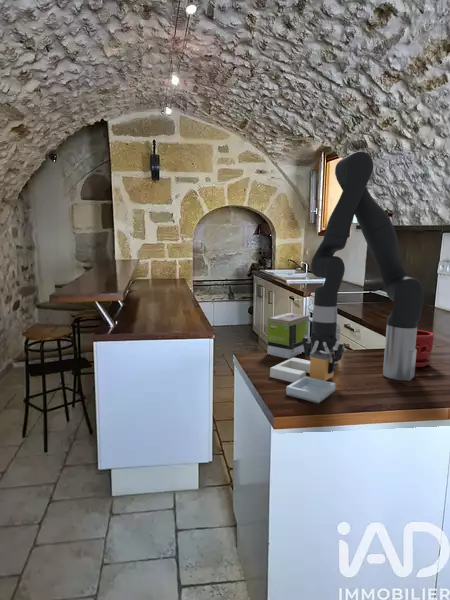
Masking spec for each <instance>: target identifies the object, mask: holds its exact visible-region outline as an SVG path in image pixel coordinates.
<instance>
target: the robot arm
mask: <svg viewBox="0 0 450 600" xmlns="http://www.w3.org/2000/svg"><path fill="white" fill-rule="evenodd" d="M373 171H374V161H373V159H372V157H371V155H370V154H369V153H368V152H366V151H361V150H360V151H355V152H352V153H350V154H348V155H347V156H345V157H343V158H342V159H340V160H339V161H338V162H336V165H335V170H334V175H335V179H336V180H337V182H338V185H339V186H340V188H341V190H342V192H341V194H340V196H339V199H338V201H337V203H336V205H335V207H334V209H333V211H332V212H331V214H330V216H329V219H328V222H327V224H326V228H325V232H324V235H323V240H322V241H321V242H320V244H319V246H318V248H317V250H316V252H315V254H314V255H313V256H312V258H311V259H312V260H311V262H310V270H311V273H312V275H313V276H315V277H316V278H320V279H321V278H322V279H325V280H324V283H323V285H318V286H317V287H315V289H314V300H313V301H314V302H313V309H312V321H311V323H312V325H311V336H308V337H304V338H303V339H302V341H303V346H304V352H303V353H304V355H305V357H309V358H310V359H309V361H311V354H312V353H316V352H318V351H324V352H326V355H328V356H329V363H328V374H331V373H332V372H333V373H335V372H334V371H335V367H336V366H335V365H336V364H335V362H337V363H339V361H341V360H342V357H343V354H344V351H345V347H346V343H345V342H338V341H337V339H336V328H337V322H338V298H339V297H338V293H339V290H340V287H341V285H342V281H343V280H344V279H343V278H344V276H345V270H346V269H345V268H346V267H345V262H344V261H343V259H342V258H341V257H339V256H337V255H335V254H336V253H337V252H338V251H341V250H343V249H345V247H346V245H347V242H348V238H349V235H350V231H351V230H350V229H351V227H352V223H353V220H354V217H355V218H356V219H355V220H357V224H358V225H359V228H360V230H361V232H362V235H363V237H364V239H365V242H366V244H367V246H368V249H369V251H370V253H371V255H372V257H373V259H374V262H375V263H376V265H377V269H378V270H379V273H380V276H381V280H382V282H383V286H384V289H385V293H386V295H387V297H388V298H389V299H390V301H392V302H393V303H392V304H393V305H392V311H391V313H390V314H388V316H387V318H386V332H385V343H384V357H383V368H382V375H383V376H384V377H386V378H388V379H390V380H391V379H392V380H397V381H408V382H410V381H412V380H413V379H414V377H415V373H416V367H415V363H416V352H417V349H415V345H417V343H416V334H417V330H418V325H419V321H420V319H421V317H422V311H423V310H422V309H423V305H424V304H423V303H424V286H423V285H422V283H421V282H420V281H419V279H417V278H414V277H412V276H411V277H410V276H409V275H408V274H407V272H406V271H405V268H404V266H403V265H402V262H401V258H400V255H399V241H398V240H399V239H398V236H397V232H396V229H395V227H394V223H393V222H392V220H391V218H390V217H389V215H388V213H387V212H386V211H385V210H384V208H382V206H381V205H380V204H379V203H378V202H376V200H375V199H374V198H373V197H372V196H371V194H370V191H369V190H368V188H367V185H368V183H369V180H370V178H371V176H372V174H373ZM311 343H312V345H313V347H312V348H311ZM335 345H336V348H337V349H338V350H337V353H336V356H334V350H333V347H334V346H335Z"/></svg>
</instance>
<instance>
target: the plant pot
mask: <svg viewBox="0 0 450 600" xmlns="http://www.w3.org/2000/svg"><path fill="white" fill-rule="evenodd" d="M433 344H434V333H433V332H430V331H427V330H422V329H417V334H416V345H415V349H417V352H416V363H415V368H420V367H421V368H422V367H425V366H428V365H429V364H430V363H431V359H429V357H430V355H431V353H432V349H433Z"/></svg>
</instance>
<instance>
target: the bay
mask: <svg viewBox="0 0 450 600" xmlns="http://www.w3.org/2000/svg"><path fill="white" fill-rule="evenodd" d="M269 369H270V370H269V377H270V378H274V379H278V380H281V381H285V382H289V383H294V382H295V381H297V380H299V379H301V378H302V377H304V376H306V377H307V373H308V374H310V360H307V359H302V358H298V357H295V356H294V357H291V358H289V359H288V358H287V360H284V361H282V362H280V363H278V364H275V365H274V366H272V367H269Z"/></svg>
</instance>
